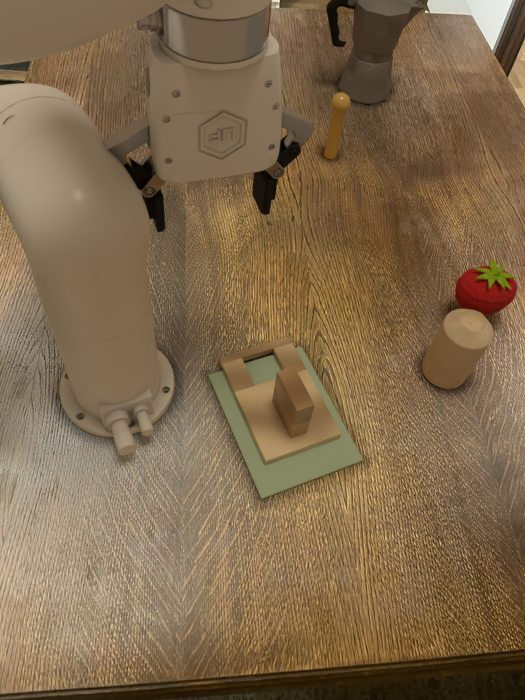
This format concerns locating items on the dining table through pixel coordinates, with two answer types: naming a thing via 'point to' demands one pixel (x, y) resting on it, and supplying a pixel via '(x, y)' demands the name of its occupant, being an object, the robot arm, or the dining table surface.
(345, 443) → the mat
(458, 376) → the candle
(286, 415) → the wooden board with handle
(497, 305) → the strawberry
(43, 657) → the dining table surface
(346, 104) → the wooden peg
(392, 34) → the coffeepot
